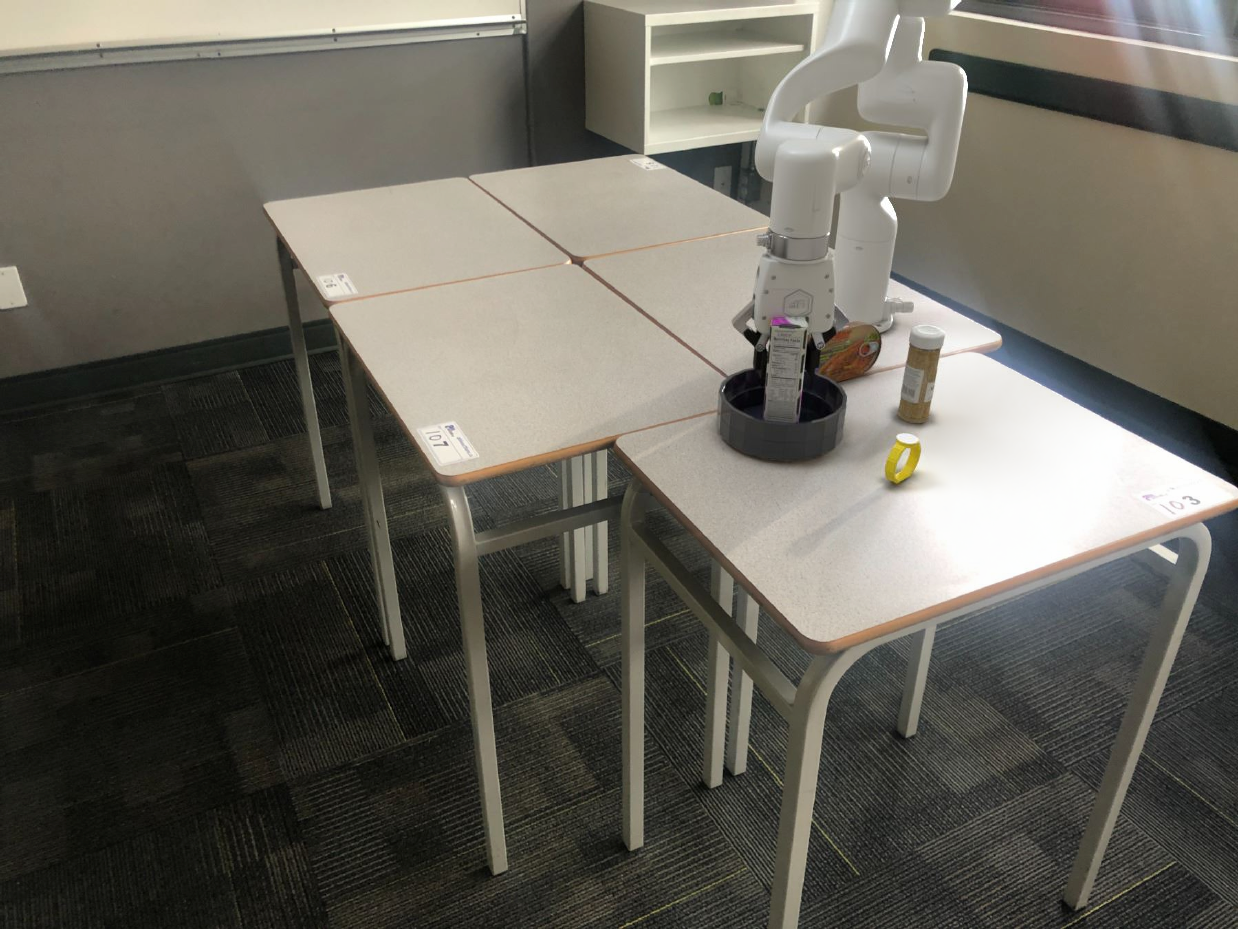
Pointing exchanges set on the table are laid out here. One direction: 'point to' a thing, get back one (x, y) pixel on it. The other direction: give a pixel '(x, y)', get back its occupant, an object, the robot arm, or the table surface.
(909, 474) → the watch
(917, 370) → the spice jar
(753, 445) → the bowl
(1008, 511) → the table surface
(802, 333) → the candy bar box
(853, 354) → the tin
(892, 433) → the table surface
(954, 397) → the table surface
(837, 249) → the robot arm
